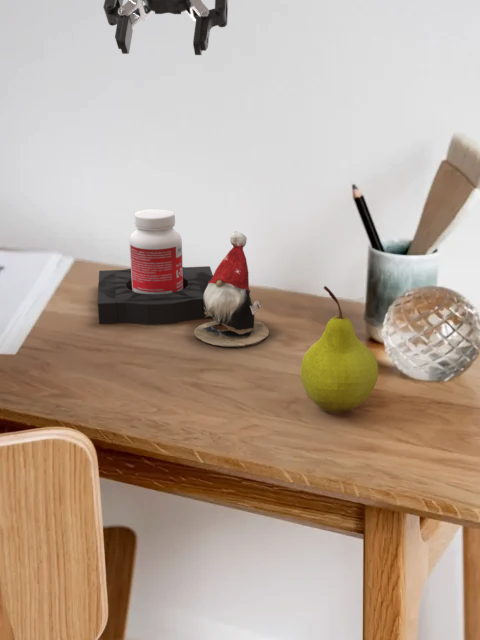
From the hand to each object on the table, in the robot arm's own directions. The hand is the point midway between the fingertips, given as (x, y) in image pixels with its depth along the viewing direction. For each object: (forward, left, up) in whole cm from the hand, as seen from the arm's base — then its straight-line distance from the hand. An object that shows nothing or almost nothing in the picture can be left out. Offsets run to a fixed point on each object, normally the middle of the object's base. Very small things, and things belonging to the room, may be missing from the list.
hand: (160, 49), depth 96 cm
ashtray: (-2, -6, -29) cm, 29 cm away
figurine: (+6, -17, -29) cm, 34 cm away
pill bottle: (-2, -6, -29) cm, 29 cm away
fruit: (+13, -36, -29) cm, 48 cm away
